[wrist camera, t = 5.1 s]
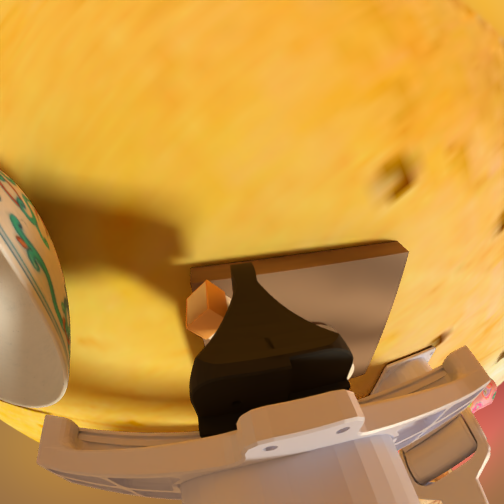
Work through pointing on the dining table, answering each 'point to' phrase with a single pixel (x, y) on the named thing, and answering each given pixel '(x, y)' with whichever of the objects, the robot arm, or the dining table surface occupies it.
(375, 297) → the flat rectangular base
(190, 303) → the white joystick lever
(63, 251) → the dining table surface
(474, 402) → the pencil case
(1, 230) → the chinaware
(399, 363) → the robot arm
